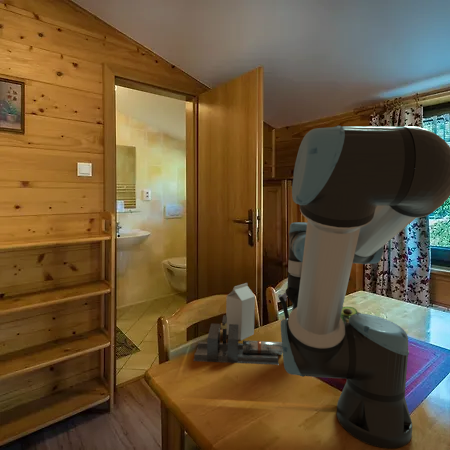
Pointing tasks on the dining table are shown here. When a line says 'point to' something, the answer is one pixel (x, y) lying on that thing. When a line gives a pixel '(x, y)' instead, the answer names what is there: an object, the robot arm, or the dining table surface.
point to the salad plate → (348, 313)
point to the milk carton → (241, 310)
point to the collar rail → (228, 348)
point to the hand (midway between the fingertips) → (297, 349)
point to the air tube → (262, 347)
